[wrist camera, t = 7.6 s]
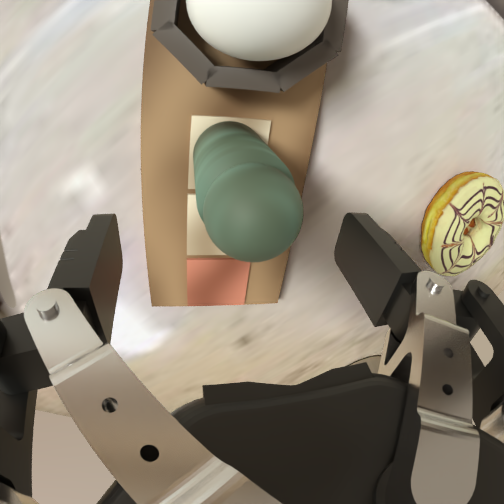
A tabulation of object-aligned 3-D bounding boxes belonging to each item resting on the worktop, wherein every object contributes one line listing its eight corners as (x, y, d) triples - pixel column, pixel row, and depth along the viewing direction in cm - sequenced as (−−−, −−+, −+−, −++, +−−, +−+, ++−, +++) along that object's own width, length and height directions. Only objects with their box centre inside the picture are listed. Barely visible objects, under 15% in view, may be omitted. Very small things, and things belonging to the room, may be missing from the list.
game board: (334, -32, 12) (365, -46, 9) (274, 294, 26) (286, 328, 23) (162, -55, 10) (156, -79, 7) (152, 297, 24) (150, 334, 21)
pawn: (268, 126, 16) (338, 187, 9) (255, 189, 19) (305, 287, 11) (197, 117, 15) (207, 172, 8) (189, 184, 18) (195, 286, 10)
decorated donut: (478, 241, 28) (499, 261, 25) (408, 271, 28) (427, 296, 25) (494, 157, 22) (521, 174, 19) (416, 177, 22) (445, 199, 19)
